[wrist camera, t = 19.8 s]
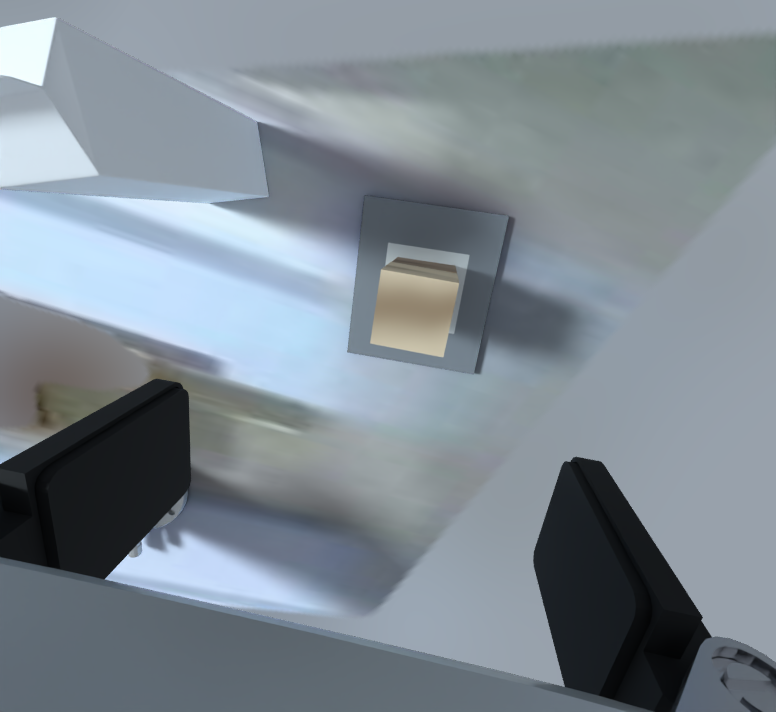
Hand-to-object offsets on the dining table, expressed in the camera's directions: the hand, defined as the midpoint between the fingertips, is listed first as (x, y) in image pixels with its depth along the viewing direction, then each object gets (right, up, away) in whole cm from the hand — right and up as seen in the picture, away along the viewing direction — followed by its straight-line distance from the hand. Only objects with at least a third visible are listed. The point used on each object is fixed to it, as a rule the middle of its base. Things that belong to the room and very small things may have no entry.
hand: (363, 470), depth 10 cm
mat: (+4, +9, +27) cm, 28 cm away
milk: (-13, +19, +26) cm, 35 cm away
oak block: (+3, +7, +21) cm, 23 cm away
